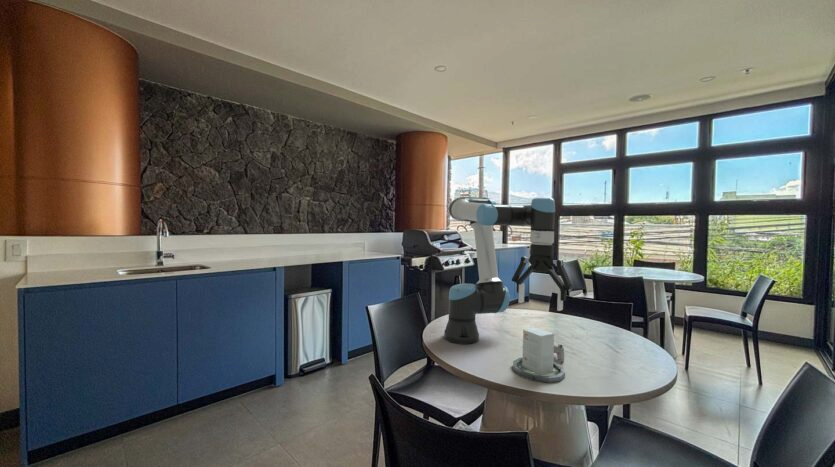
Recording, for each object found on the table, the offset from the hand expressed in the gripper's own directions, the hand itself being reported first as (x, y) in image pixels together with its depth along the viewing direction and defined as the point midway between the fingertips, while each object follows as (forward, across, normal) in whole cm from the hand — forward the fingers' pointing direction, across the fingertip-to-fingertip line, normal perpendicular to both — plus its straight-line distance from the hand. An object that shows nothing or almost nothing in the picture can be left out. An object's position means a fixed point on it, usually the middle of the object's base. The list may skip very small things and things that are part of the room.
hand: (539, 306), depth 113 cm
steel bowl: (+22, 0, 0) cm, 22 cm away
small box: (+22, 0, 0) cm, 22 cm away
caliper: (+23, -5, +20) cm, 31 cm away
